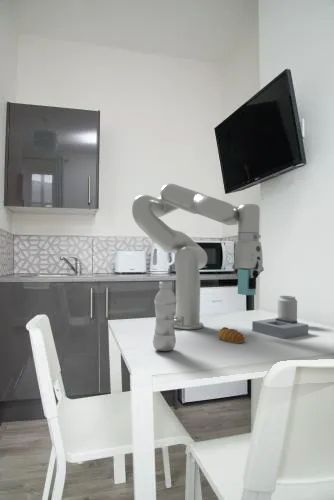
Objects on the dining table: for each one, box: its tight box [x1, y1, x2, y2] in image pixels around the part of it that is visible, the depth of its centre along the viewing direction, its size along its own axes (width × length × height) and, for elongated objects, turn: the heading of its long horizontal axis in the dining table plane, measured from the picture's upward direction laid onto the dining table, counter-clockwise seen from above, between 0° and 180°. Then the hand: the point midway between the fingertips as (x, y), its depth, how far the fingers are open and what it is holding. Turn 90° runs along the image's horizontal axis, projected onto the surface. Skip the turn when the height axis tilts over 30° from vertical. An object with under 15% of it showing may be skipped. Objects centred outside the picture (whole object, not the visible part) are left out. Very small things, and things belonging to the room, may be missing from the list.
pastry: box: [217, 326, 246, 344], centre depth 108 cm, size 9×7×4 cm
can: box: [277, 295, 298, 321], centre depth 134 cm, size 8×8×12 cm
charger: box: [237, 269, 257, 296], centre depth 119 cm, size 4×4×9 cm
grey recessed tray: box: [251, 317, 309, 340], centre depth 121 cm, size 14×14×4 cm
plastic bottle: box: [152, 280, 177, 352], centre depth 95 cm, size 6×7×20 cm
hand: (246, 287), depth 119 cm, fingers closed on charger, 4 cm apart
